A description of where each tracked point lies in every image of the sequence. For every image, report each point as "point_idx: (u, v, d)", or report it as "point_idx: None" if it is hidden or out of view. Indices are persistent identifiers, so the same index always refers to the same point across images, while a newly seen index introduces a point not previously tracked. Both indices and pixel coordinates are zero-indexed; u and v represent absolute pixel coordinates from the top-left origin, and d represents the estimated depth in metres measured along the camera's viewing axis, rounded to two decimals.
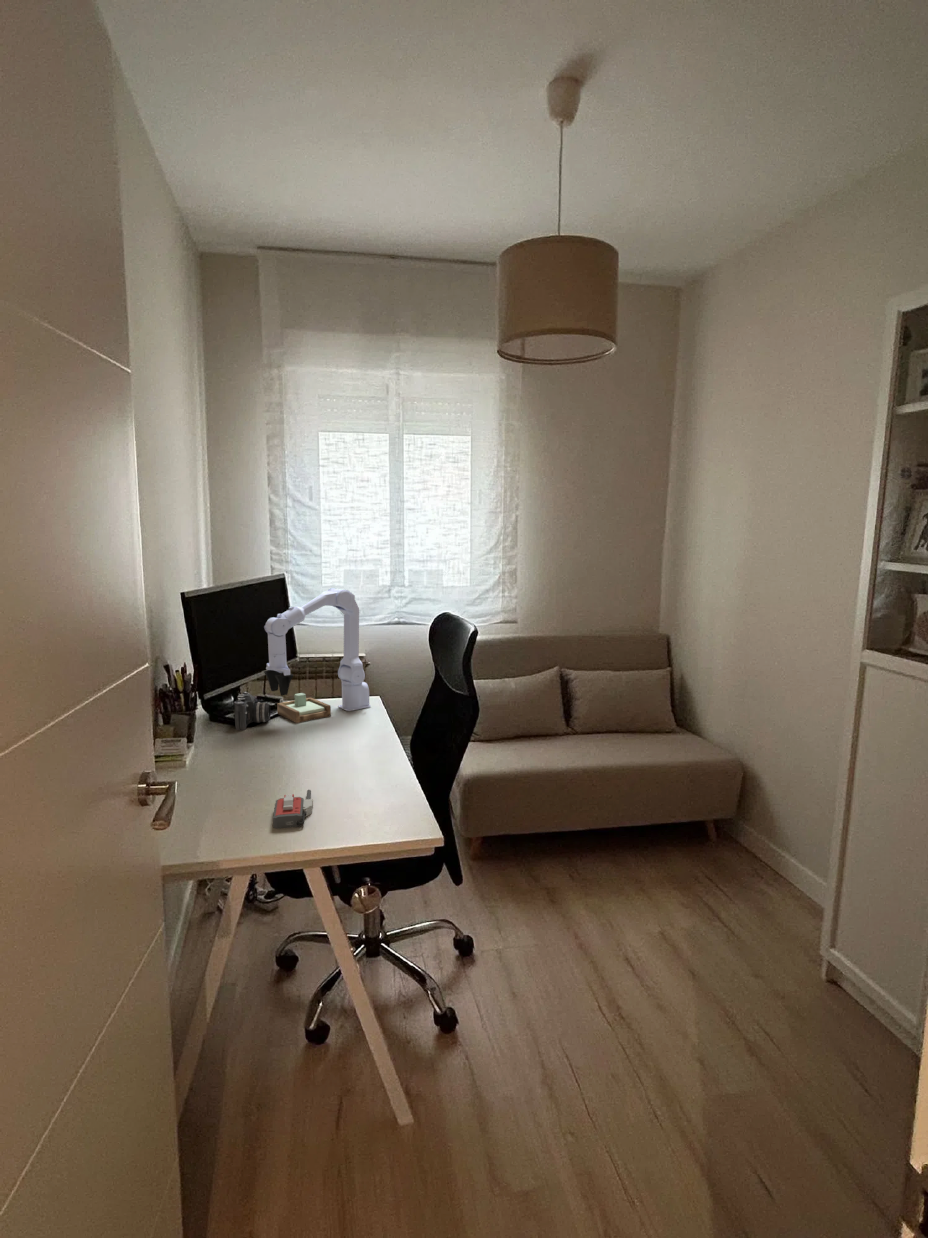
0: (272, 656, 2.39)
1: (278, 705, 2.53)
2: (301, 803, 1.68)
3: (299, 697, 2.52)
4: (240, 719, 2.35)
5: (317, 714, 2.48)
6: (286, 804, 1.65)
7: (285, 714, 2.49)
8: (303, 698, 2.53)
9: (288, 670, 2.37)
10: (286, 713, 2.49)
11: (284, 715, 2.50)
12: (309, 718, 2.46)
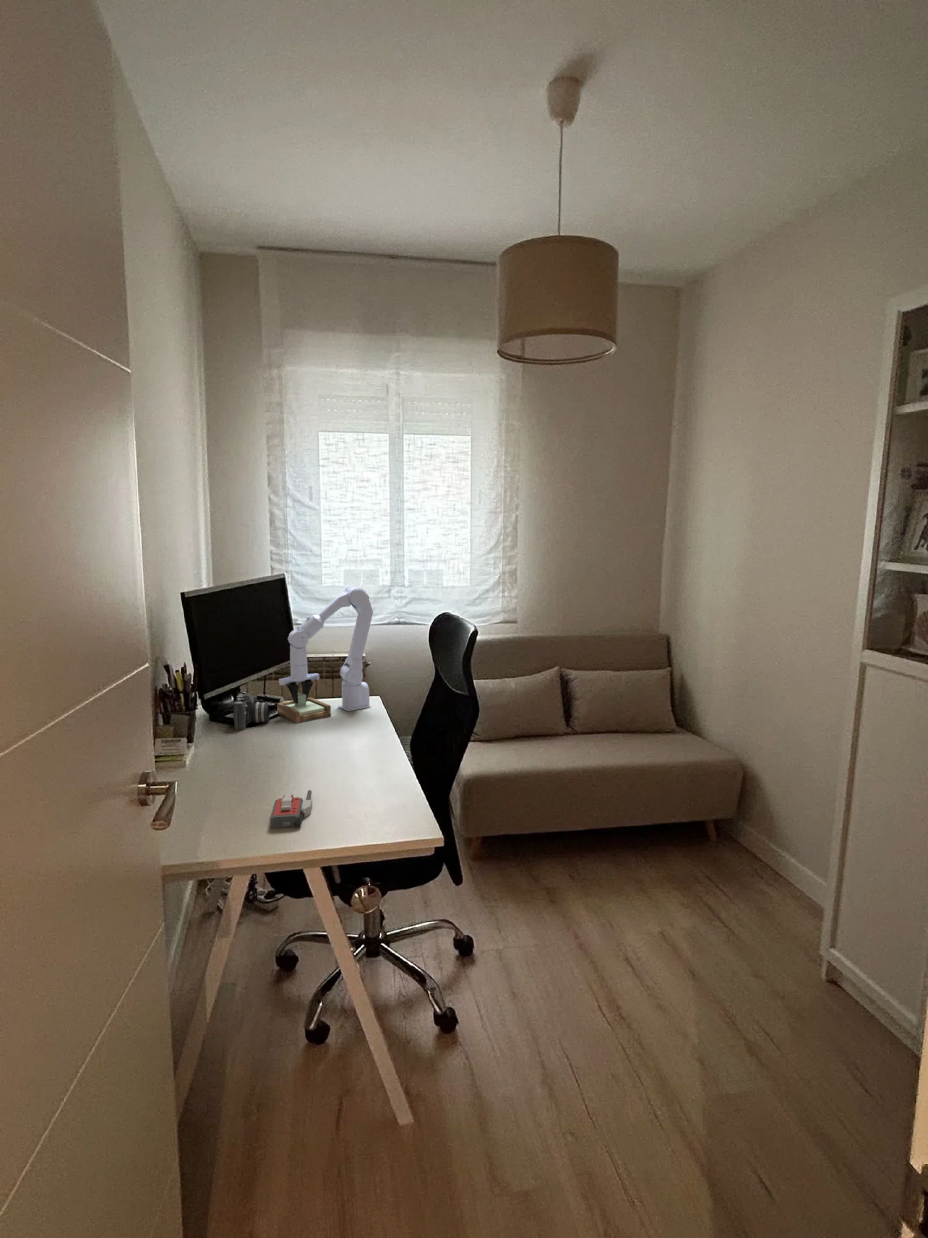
0: None
1: (278, 705, 2.53)
2: (300, 804, 1.68)
3: (299, 697, 2.52)
4: (239, 719, 2.35)
5: (317, 714, 2.48)
6: (284, 804, 1.65)
7: (285, 714, 2.49)
8: (303, 698, 2.53)
9: (280, 680, 2.48)
10: (286, 713, 2.49)
11: (284, 715, 2.50)
12: (309, 718, 2.46)
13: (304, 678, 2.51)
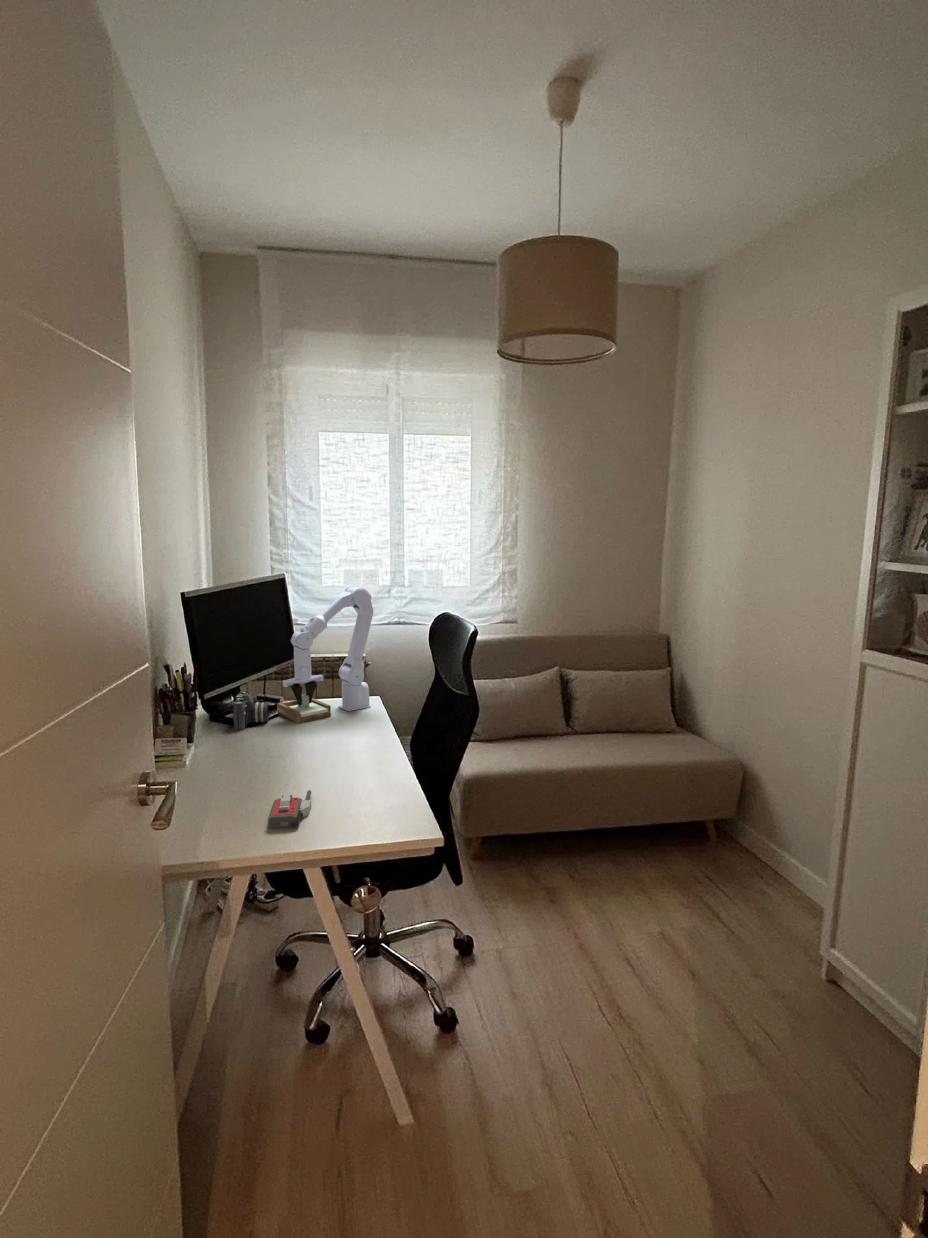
0: None
1: (278, 705, 2.53)
2: (298, 804, 1.68)
3: (302, 698, 2.50)
4: (239, 719, 2.35)
5: (317, 714, 2.48)
6: (283, 804, 1.65)
7: (285, 714, 2.49)
8: (306, 699, 2.51)
9: (284, 682, 2.46)
10: (286, 713, 2.49)
11: (284, 715, 2.50)
12: (309, 718, 2.46)
13: (308, 679, 2.49)
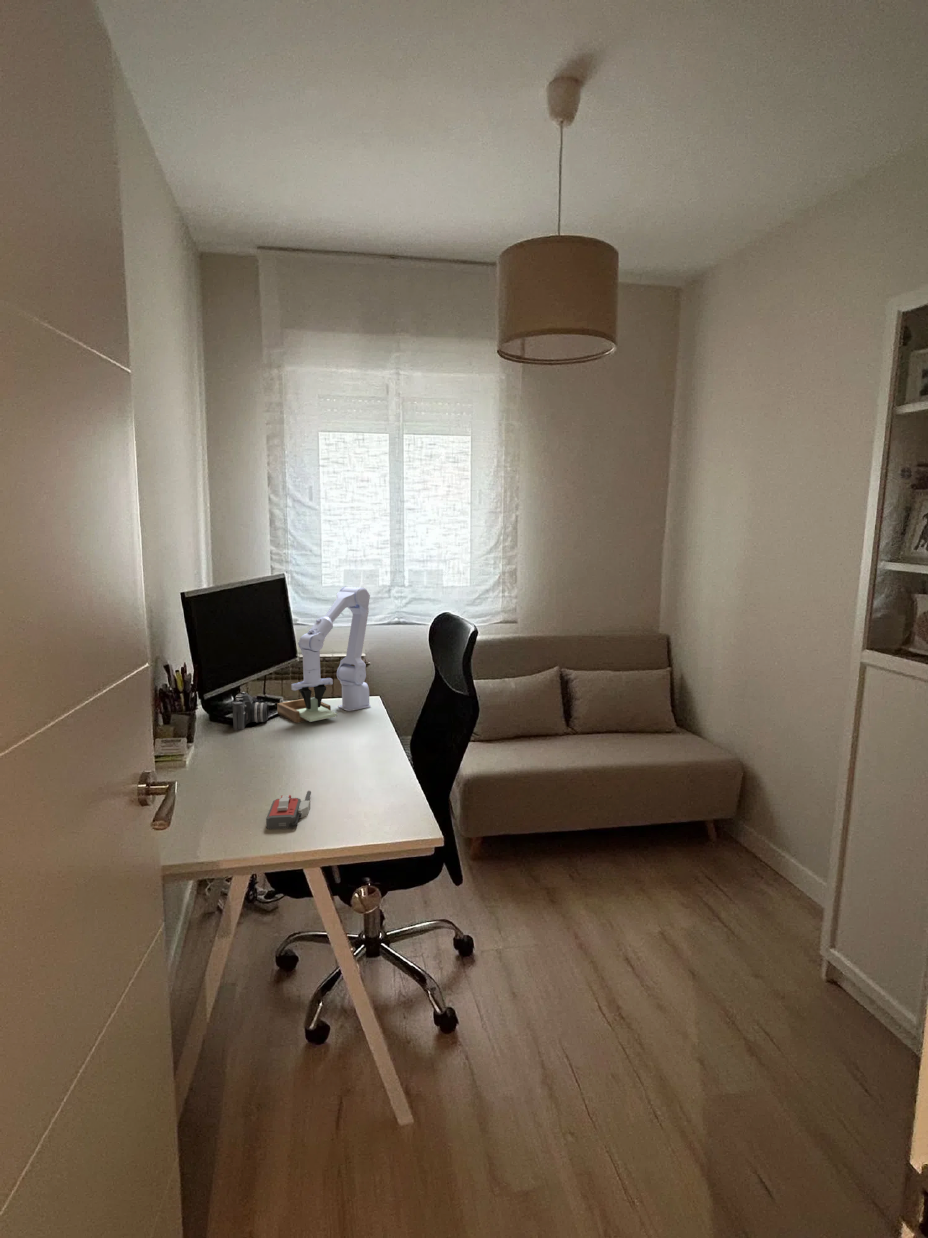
0: None
1: (278, 705, 2.53)
2: (297, 804, 1.68)
3: (311, 702, 2.45)
4: (238, 720, 2.35)
5: None
6: (281, 805, 1.65)
7: (285, 714, 2.49)
8: (315, 703, 2.46)
9: (293, 685, 2.40)
10: (286, 713, 2.49)
11: (284, 715, 2.50)
12: None
13: (317, 683, 2.43)
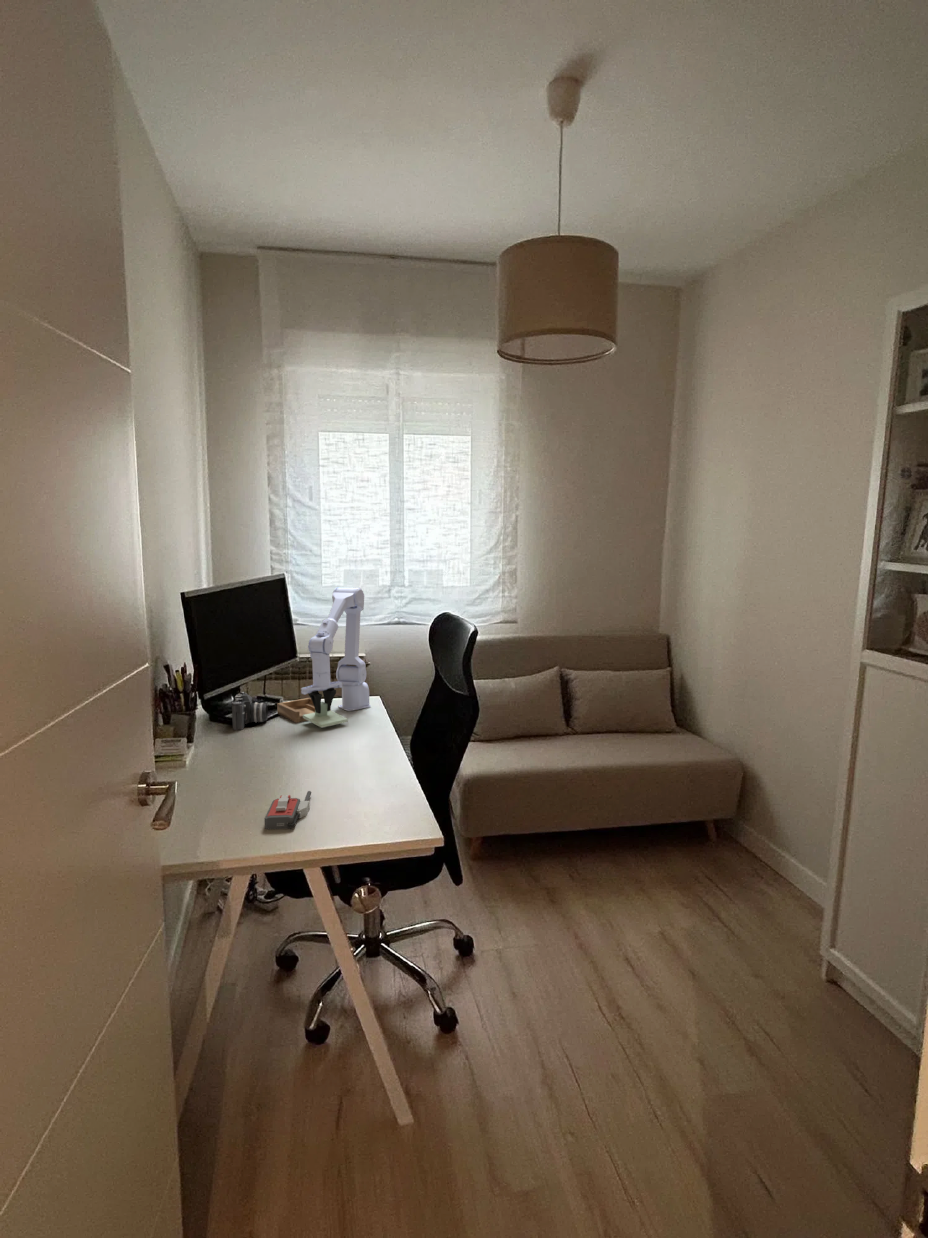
0: None
1: (278, 705, 2.53)
2: (296, 805, 1.67)
3: (321, 707, 2.40)
4: (237, 720, 2.35)
5: None
6: (280, 805, 1.65)
7: (285, 714, 2.49)
8: (324, 708, 2.41)
9: (303, 689, 2.35)
10: (286, 713, 2.49)
11: (284, 715, 2.50)
12: None
13: (327, 686, 2.38)
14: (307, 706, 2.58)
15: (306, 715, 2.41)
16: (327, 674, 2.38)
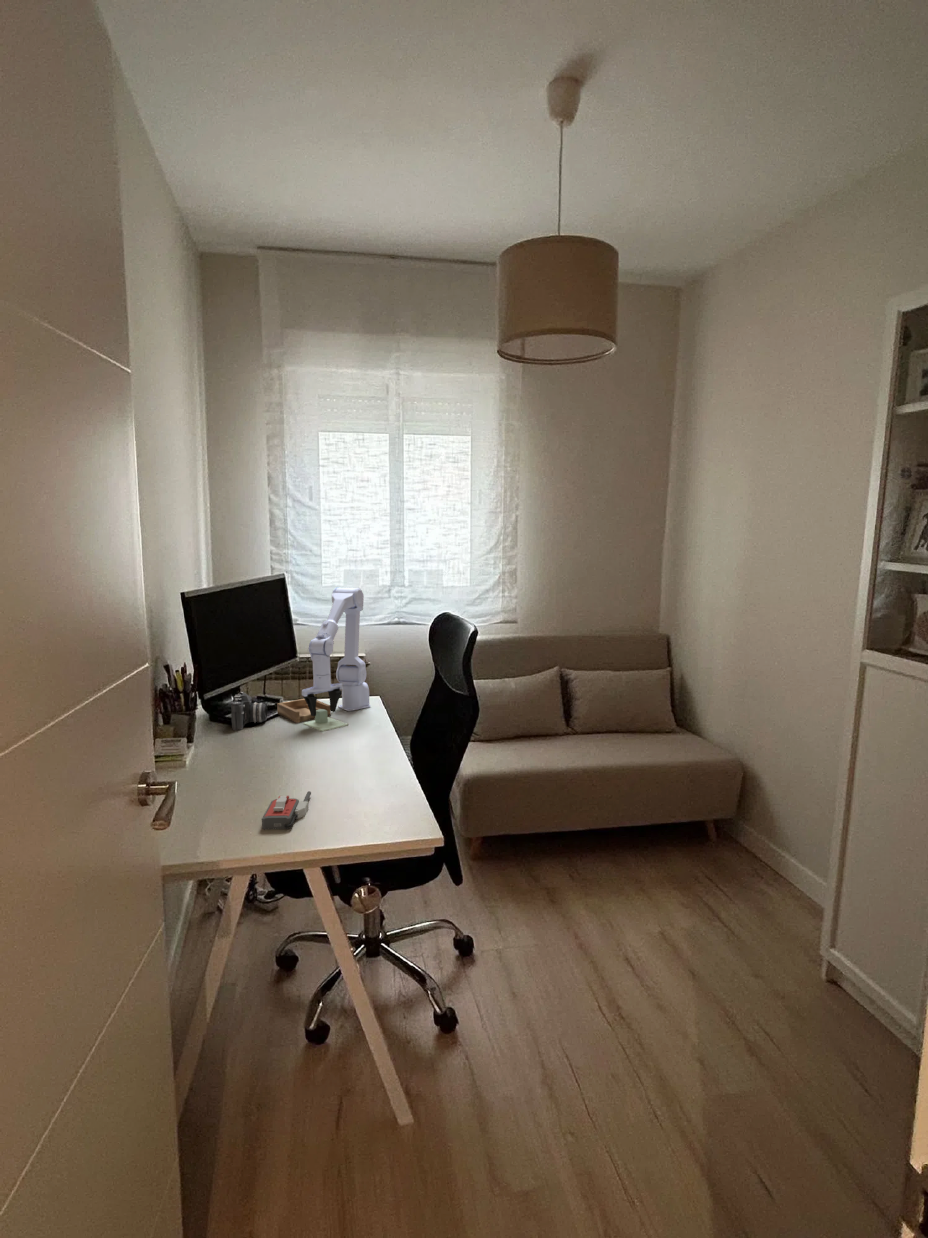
0: None
1: (278, 705, 2.53)
2: (294, 805, 1.67)
3: (320, 713, 2.40)
4: (237, 720, 2.35)
5: None
6: (278, 805, 1.65)
7: (285, 714, 2.49)
8: (324, 714, 2.41)
9: (303, 691, 2.35)
10: (286, 713, 2.49)
11: (284, 715, 2.50)
12: (309, 718, 2.46)
13: (328, 688, 2.38)
14: (307, 706, 2.58)
15: (306, 723, 2.41)
16: (327, 676, 2.38)
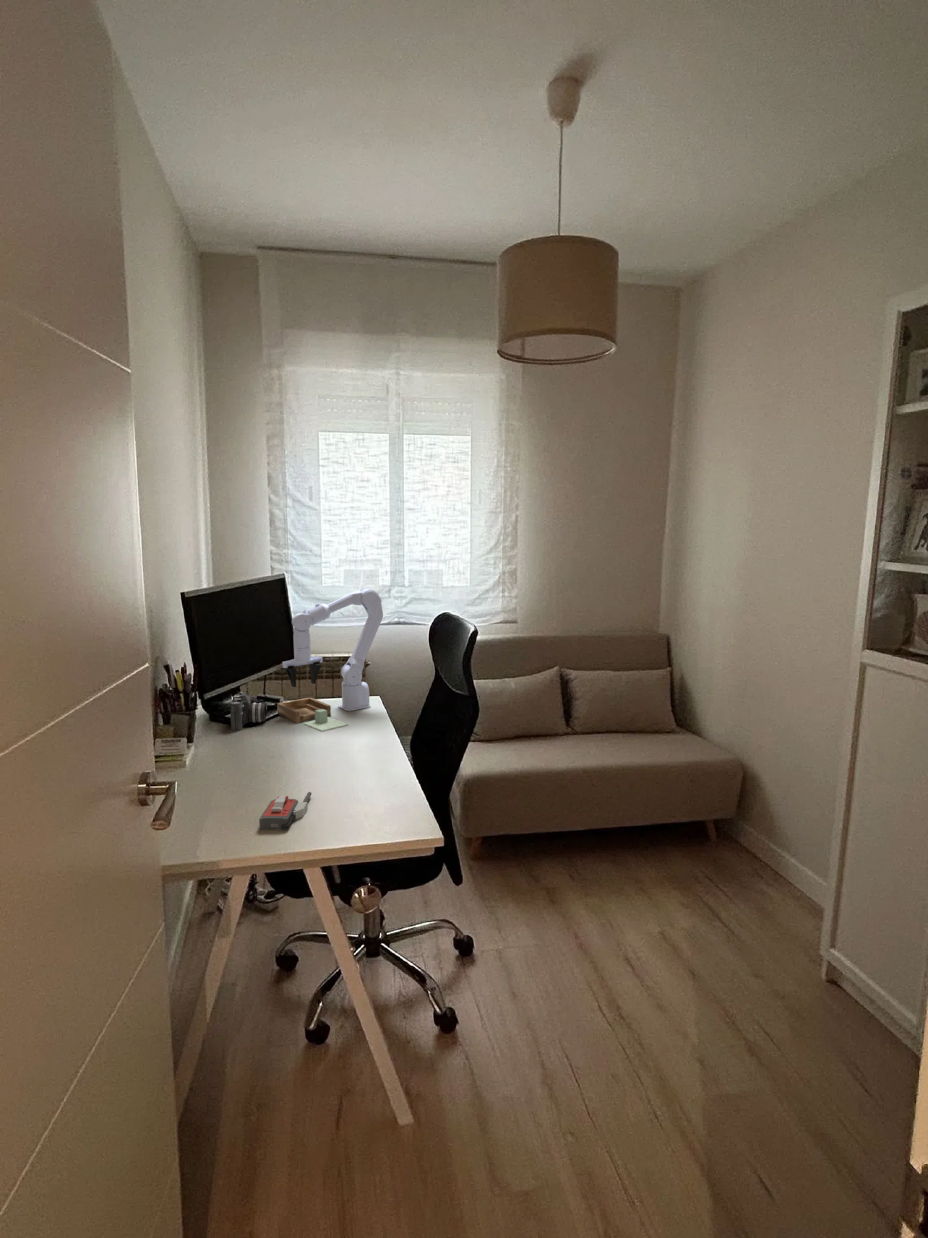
0: None
1: (278, 705, 2.53)
2: (293, 806, 1.67)
3: (320, 713, 2.40)
4: (236, 720, 2.35)
5: None
6: (276, 806, 1.64)
7: (285, 714, 2.49)
8: (324, 714, 2.41)
9: (284, 663, 2.49)
10: (286, 713, 2.49)
11: (284, 715, 2.50)
12: (309, 718, 2.46)
13: (307, 661, 2.52)
14: (307, 706, 2.58)
15: (306, 723, 2.41)
16: (307, 649, 2.52)
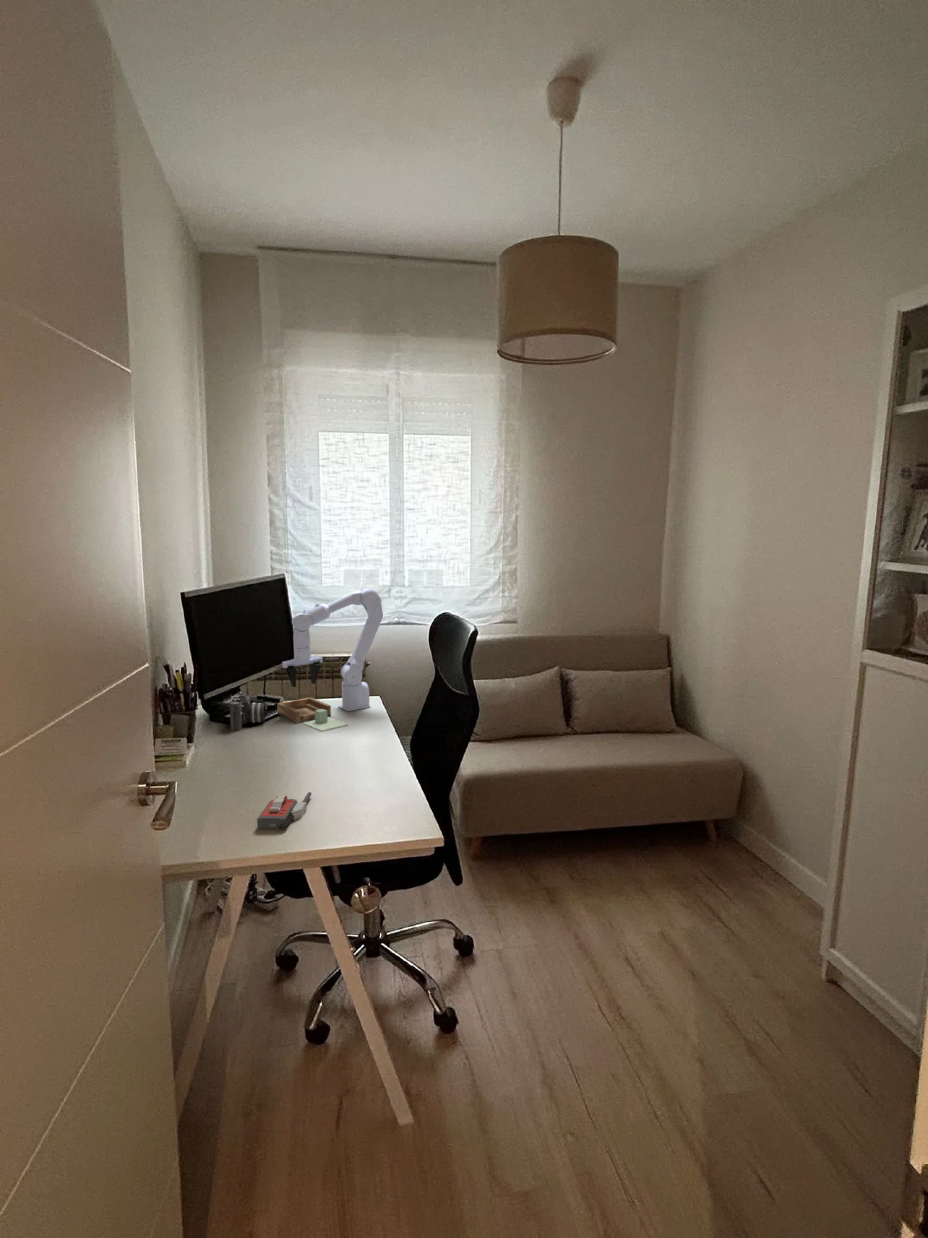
0: None
1: (278, 705, 2.53)
2: (292, 806, 1.67)
3: (320, 713, 2.40)
4: (235, 720, 2.34)
5: None
6: (274, 806, 1.64)
7: (285, 714, 2.49)
8: (324, 714, 2.41)
9: (284, 663, 2.49)
10: (286, 713, 2.49)
11: (284, 715, 2.50)
12: (309, 718, 2.46)
13: (307, 661, 2.52)
14: (307, 706, 2.58)
15: (306, 723, 2.41)
16: (307, 649, 2.52)
